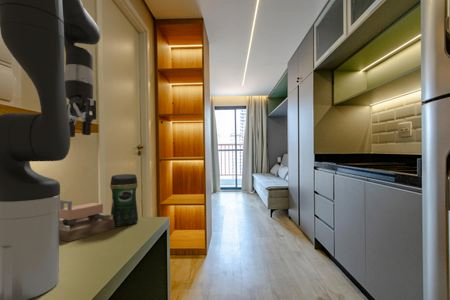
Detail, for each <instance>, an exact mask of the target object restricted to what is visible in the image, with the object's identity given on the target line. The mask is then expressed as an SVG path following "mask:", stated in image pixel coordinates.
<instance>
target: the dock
mask: <svg viewBox="0 0 450 300" xmlns="http://www.w3.org/2000/svg"><path fill="white" fill-rule="evenodd" d="M99 214H100V218H99V219H98V220H94V219H89V218H88V216H86V217H81V218H77V219H75V220H76V224H75V225H74V226H68V225H64V224H63V223H62V221H63V219H61V218H60V220H59V241H63V242H66V243H69V242H73V241H75V240H79V239H83V238H86V237H90V236H93V235H95V234H99V233H103V232H105V231H109V230H113V229H115V226H114V219H113V216H111V214H105V213H99Z"/></svg>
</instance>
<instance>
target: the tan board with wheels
mask: <svg viewBox="0 0 450 300" xmlns="http://www.w3.org/2000/svg"><path fill="white" fill-rule="evenodd" d="M65 204H67V207H65ZM103 210H104V204H103V203H98V202H97V203H96V202H91V203H86V204H85V203H84V204H80V205H79V204H78V205H73V201H72V200H68V199H67V200H66V199H60V220H61V219H63V221H62V223H63V224H64V225H68V226H74V225H75V224H76V220H75V219H77V218H81V217H86V216H88V218H89V219H94V220H98V219H99V218H100V214H104V213H103V212H104V211H103ZM99 213H100V214H99Z"/></svg>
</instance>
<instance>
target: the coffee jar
mask: <svg viewBox="0 0 450 300" xmlns="http://www.w3.org/2000/svg"><path fill="white" fill-rule="evenodd" d="M109 185H110V186H109V187H110V190H111V208H110V209H111V210H110V215H111V216H113V219H114V227H122V226H128V224H129V225H133V224H136V223H137V222H139V213H138V205H137V204H138V203H137V188H138V186H139V185H138V178H137V175H136V174H132V173H123V174H114V175H112V176H111V179H110V184H109Z"/></svg>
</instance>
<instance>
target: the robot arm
mask: <svg viewBox="0 0 450 300" xmlns="http://www.w3.org/2000/svg"><path fill="white" fill-rule="evenodd" d="M0 36H1V39H2V41H3V44H4V45H5V46H6V49H7V50H8V51H9V53H10V54H11V55H12V56H13V58H14V60H16V61H17V62H16V63H18V65H20V67H21V68H22V69H23V71H24V72H25V74H26V75H27V76H28V77H29V79H30V81H32V82H31V83H32V84H33V85H34V88H35V90H36V92H37V96H38V98H39V99H38V100H39V105H40V113H27V112H26V113H24V112H22V113H21V112H19V113H17V112H15V113H14V112H9V113H8V112H7V113H2V114H0V300H31V299H33V298H36V297H39V296H41V295H43V294H45V293H46V292H49V291H50V290H52V289H53V288H54V287H56V286H57V285H58V284H59V280H60V278H59V277H60V239H59V220H61V218H60V200H61V184H60V182H59V180H56V179H54V178H51V177H48V176H44V175H41V174H39V173H38V172H36V171H34V170H33V168H32V167H31V163H30V162H58V161H63V160H64V159H65V158H67V156H68V154H69V152H70V148H71V138H73V137H75V136H76V123H77V121H78V120H80V119H81V134H82V135H83V136H91V133H92V129H91V128H92V123H93V122H94V121H96V120H97V101H96V99H94V73H93V72H94V71H93V70H94V69H93V68H94V67H93V66H94V62H93V61H94V57H93V53H92V52H91V51H89V50H88V49H86V48H84V47H80V46H77V45H76V44H82V45H83V44H84V45H92V46H93V45H94V46H95V45H97V44H99V41H100V39H101V32H100V29H99V25H97V23H96V21H95V20H94V19H93V16H91V15H90V14H89V13H88V11H87V10H86V8H85V7H84V5H83V2H82V0H0ZM67 99H68V100H69V101H68V102H67ZM70 119H71V120H72V121H71V120H70Z"/></svg>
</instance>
